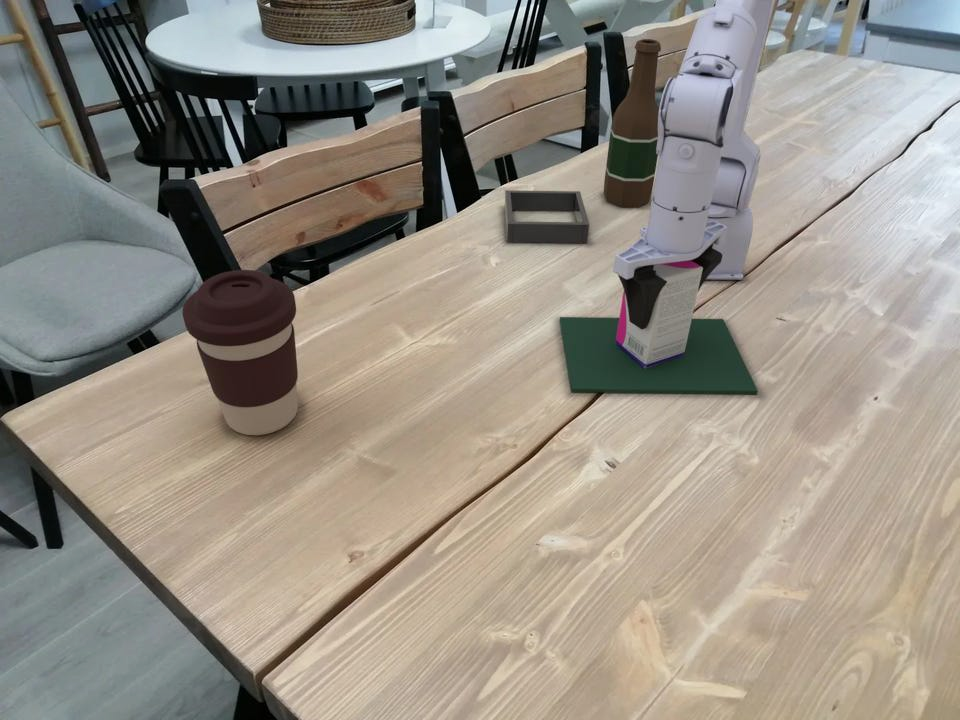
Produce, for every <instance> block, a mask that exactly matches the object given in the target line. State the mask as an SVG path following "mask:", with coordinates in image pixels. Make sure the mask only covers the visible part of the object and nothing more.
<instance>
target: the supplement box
mask: <svg viewBox="0 0 960 720" xmlns="http://www.w3.org/2000/svg"><path fill="white" fill-rule="evenodd" d="M653 270H656V275H657V276H659V277H661V278H662V279H664V280H666V281H667V283H666V284H665V286H664V287H663V288H662V290H661V291H660V293H659V295H658V297H657V299H656V302H655V304H654V308H653V311H652V315H651V319H650V321H649V324H648V326H647V328H645V329H640V328H638V327H637V326H635V325H634V324H632V323H631V322H630V321H629V313H628V305H627V299H626V295H625V291H624V290H623V291H622V299H621V306H620V311H619V317H618V318H619V324H618V330H617V336H616V342H615V343H616V345H618V346H619V347H620V348H621V349H622V350H624V351H625V352H626V353H627V354H628V355H630V356H631V357H632V358H633V359H634V360H635V361H637V362H638V363H639V364H640V365H641V366H642V367H644V368H645V369H646V368H649V367H652V366H655V365H658V364H660V363H663V362H666V361H669V360H672V359H675V358H678V357H681V356H683V355H684V352H685V347H686V343H687V338H688V334H689V329H690V325H691V320H692V319H693V315H694V310H695V307H696V301H697V297H698V294H699V291H698V288H699V284H700V279H701V275H702V270H703V267H701V266H699V265H698V264H696V263H695V262H693V261H691V260H688V261H680V262H672V263H663V264H655V265H654V269H653Z"/></svg>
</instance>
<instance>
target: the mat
mask: <svg viewBox="0 0 960 720" xmlns="http://www.w3.org/2000/svg"><path fill="white" fill-rule="evenodd" d="M619 318H620V317H592V316H591V317H589V316H588V317H587V316H586V317H585V316H583V317H582V316H581V317H579V316H578V317H577V316H573V317H572V316H560V317H559V324H560V325H559V326H560V332H561V337H562V343H563V349H564V356H565V361H566V362H565V363H566V369H567V375H568V381H569V388H570V392H571V393H599V394H600V393H603V394H605V393H607V394H608V393H609V394H611V393H612V394H613V393H615V394H623V393H624V394H697V395H698V394H700V395H701V394H703V395H758V392H759V390H758V388H757V386H756V384H755V382H754V380H753V377H752V376H751V373H750V372H749V369H748V367H747V365H746V363H745V361H744V359H743V357H742V355H741V353H740V350H739V349H738V347H737V345H736V343H735V340H734V338H733V337H732V334H731V332H730V330H729V328H728V325H727V324H726V322H725V320H724V319H723V318H692V320H691V325H690V329H689V334H688V338H687V343H686V347H685V352H684V355H683V356H681V357H678V358H675V359H672V360H669V361H666V362H663V363H660V364H658V365H655V366H652V367H649V368H646V369H645V368H644V367H642V366H641V365H640V364H639V363H638V362H637V361H635V360H634V359H633V358H632V357H631V356H630V355H628V354H627V353H626V352H625V351H624V350H622V349H621V348H620V347H619V346H618V345H616V343H615V342H616V336H617V330H618V324H619Z"/></svg>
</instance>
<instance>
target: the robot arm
mask: <svg viewBox="0 0 960 720" xmlns="http://www.w3.org/2000/svg"><path fill="white" fill-rule="evenodd" d="M776 1H777V0H715V5H714V6H712V7H710V8H708V9H706V10H705V11H704V12H702V13H701V14H700V16H699V17H698V18H697V20H696V23H695V26H694V29H693V32H692V35H691V37H690V41H689V43H688V46H687V48H686V52H685V53H684V57H683V60H682V62H681V66H680V68H679V71H678V73H677V76H676V77H673V76H670V77H669V78H668V79H667V81H666V84H665V86H664V88H663V91H662V94H661V99H660V103H659V106H658V108H659V114H658V141H657V148H656V150H657V151H656V154H658V159H657V165H656V171H655V177H654V183H653V189H652V195H651V203H650V209H649V214H648V220H647V221H648V222H647V225H645V226H642V227H641V228H640V231H639V235H640V236H641V237H639V238H638V239H637V240H636V241H635V242H633V243H632V244H631V245H630V246H628V248H626V249H625V250H624V251H622V252H620V253H617V254H615V256H614V263H613V272H614V273H615V274H617V276H618V278H619V281H620V283H621V285H622V289H623V292H624V291H625V295H626V299H627V305H628V313H629V321H630V322H631V323H632V324H634V325H635V326H637V327H638V328H640V329H645V328H647V326H648V324H649V321H650V319H651V315H652V311H653V308H654V304H655V302H656V299H657V297H658V295H659V293H660V291H661V290H662V288H663V287H664V286H665V284H666V283H667V281H666V280H664V279H662V278H661V277H659V276H657V275H656V270H653V269H654V265H655V264H663V263H672V262H680V261H688V260H691V261H693V262H695V263H696V264H698V265H699V266H701V267H703V270H702V275H701V279H700V284H699V288H698V292H699V291H700V289H701V288H702V286H703V284H704V283H705V281H706V280H719V281H720V280H721V281H723V280H725V281H726V280H727V281H728V280H729V281H733V280H734V281H741V280H743V279H744V274H743V271H744V267H745V263H746V260H747V255H748V251H749V248H750V245H751V242H752V241H751V240H752V237H753V229H754V217H753V212H752V209H751V208H750V207H749V205H750V202H751V199H752V196H753V192H754V189H755V185H756V182H757V177H758V173H759V167H760V166H759V164H760V160H761V156H762V153H761V149H760V147H759V146H758V144H757V143H756V142H755V141H754V139H752V138H751V136H749V135H748V134H747V132H746V131H745V126H746V122H747V118H748V113H749V109H750V105H751V102H752V96H753V93H754V88H755V85H756V80H757V76H758V72H759V68H760V63H761V60H762V55H763V52H764V47H765V44H766V40H767V35H768V32H769V27H770V22H771V19H772V14H773V10H774V6H775V3H776Z"/></svg>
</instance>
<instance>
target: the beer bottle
mask: <svg viewBox="0 0 960 720" xmlns="http://www.w3.org/2000/svg"><path fill="white" fill-rule="evenodd" d="M634 49H635V55H634V61H633V66H632V70H631V76H630V81H629V87H628V89H627V93H626V96H625V98H624V99H623V100H622V101H621V102H620V104H619V105H618V106H617V108H616V110H615V112H614V113H613V116H612V120H611V126H610V131H609V132H610V133H609V140H608V148H607V157H606V163H605V165H606V166H605V174H604V175H605V176H604V180H603V181H604V182H603V195H604V198H605V200H606V202H607V203H609V204H612V205H614V206H617V207H619V208H640V207H643V206H644V205H646V204H648V203H649V202H650V201H651V199H652V194H653V189H654V183H655V177H656V171H657V165H658V159H659V155H658V154H656V151H657V150H656V148H657V141H658V114H659V106H658V104H657V101H656V83H657V82H656V81H657V74H658V73H657V71H658V61H659V52H662V46H661V43H660V42H659V41H658V40H656V39H652V38H643V39H640V40H636V42H635V45H634Z"/></svg>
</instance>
